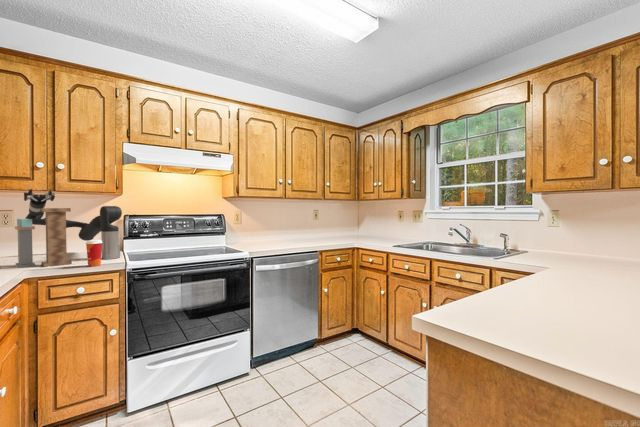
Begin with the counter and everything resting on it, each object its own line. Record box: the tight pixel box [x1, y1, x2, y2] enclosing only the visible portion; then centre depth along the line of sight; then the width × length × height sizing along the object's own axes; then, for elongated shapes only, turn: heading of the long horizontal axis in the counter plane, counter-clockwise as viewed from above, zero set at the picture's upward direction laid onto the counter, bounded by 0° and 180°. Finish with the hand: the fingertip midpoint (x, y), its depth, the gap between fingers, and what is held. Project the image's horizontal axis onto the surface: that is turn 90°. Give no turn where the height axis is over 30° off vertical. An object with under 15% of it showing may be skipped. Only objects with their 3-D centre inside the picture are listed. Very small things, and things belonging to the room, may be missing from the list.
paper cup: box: [85, 239, 103, 268], centre depth 174 cm, size 8×8×14 cm
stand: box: [40, 207, 72, 268], centre depth 178 cm, size 12×8×32 cm, turn 139°
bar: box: [16, 218, 33, 227], centre depth 176 cm, size 4×24×4 cm, turn 49°
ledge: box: [14, 225, 37, 269], centre depth 175 cm, size 7×12×22 cm, turn 49°
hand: (40, 190), depth 192 cm, fingers open, 8 cm apart
